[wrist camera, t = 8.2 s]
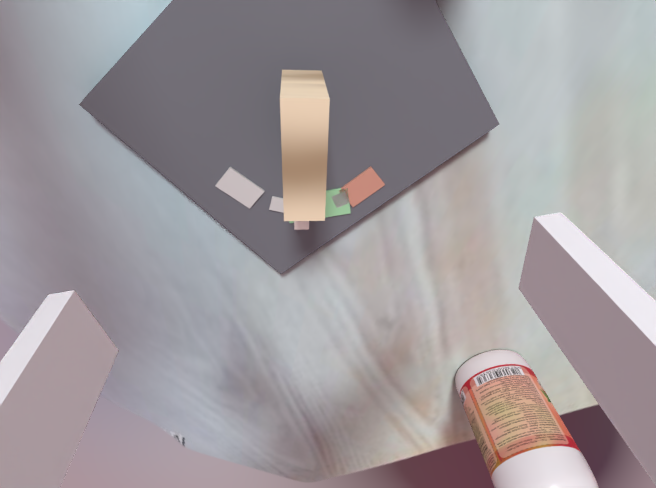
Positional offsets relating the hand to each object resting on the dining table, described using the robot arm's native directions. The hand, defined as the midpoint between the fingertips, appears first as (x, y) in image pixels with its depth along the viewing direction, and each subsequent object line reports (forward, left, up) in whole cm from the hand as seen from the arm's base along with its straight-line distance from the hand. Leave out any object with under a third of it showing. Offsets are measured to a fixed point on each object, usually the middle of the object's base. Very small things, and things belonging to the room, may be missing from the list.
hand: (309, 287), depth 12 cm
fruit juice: (+42, -4, -21) cm, 47 cm away
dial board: (+1, -1, -21) cm, 21 cm away
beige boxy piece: (+3, -2, -19) cm, 19 cm away
